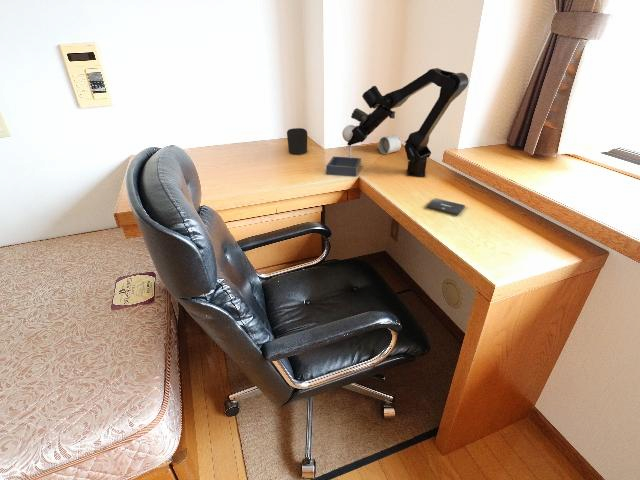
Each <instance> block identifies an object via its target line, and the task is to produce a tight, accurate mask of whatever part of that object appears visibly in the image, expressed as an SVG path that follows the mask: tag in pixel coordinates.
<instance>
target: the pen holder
mask: <svg viewBox="0 0 640 480" xmlns="http://www.w3.org/2000/svg"><path fill="white" fill-rule="evenodd" d="M286 136H287V137H286V138H287V147H288V153H289V154H290V155H296V156H299V155H304V154H306V153H307V152H308V131H307V130H306V129H305V128H303V127H294V128H290V129H288V130H287V131H286Z"/></svg>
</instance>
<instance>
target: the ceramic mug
mask: <svg viewBox="0 0 640 480" xmlns="http://www.w3.org/2000/svg"><path fill="white" fill-rule="evenodd" d="M401 147H402V140H401V138H400V136H398V135H389V136H382V137H381V138H380V139H379V141H378V146H377V150H379V151H380V153H381V154H383V155H387V154H391V153H396V152H398V151H400V149H401Z"/></svg>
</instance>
